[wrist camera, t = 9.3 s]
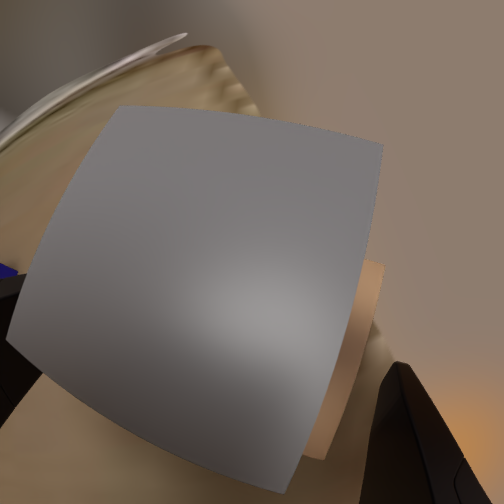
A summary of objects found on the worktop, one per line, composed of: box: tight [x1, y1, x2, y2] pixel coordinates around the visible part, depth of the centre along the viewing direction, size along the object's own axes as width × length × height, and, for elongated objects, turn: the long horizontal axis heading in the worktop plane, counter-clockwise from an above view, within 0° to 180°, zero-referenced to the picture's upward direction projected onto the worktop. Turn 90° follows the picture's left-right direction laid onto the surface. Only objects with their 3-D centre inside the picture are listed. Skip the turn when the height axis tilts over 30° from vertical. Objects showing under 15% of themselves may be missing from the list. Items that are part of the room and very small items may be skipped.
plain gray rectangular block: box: [6, 106, 383, 494], centre depth 10 cm, size 4×4×13 cm
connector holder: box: [302, 259, 385, 460], centre depth 15 cm, size 10×10×4 cm
